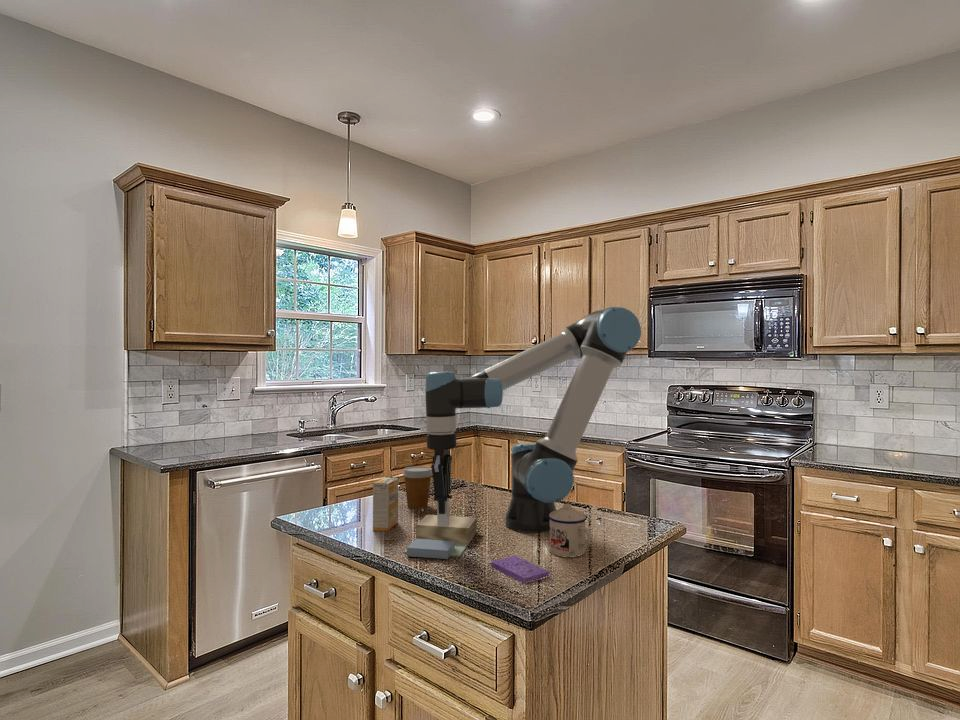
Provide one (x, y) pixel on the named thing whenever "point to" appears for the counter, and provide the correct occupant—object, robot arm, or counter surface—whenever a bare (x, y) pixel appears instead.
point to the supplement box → (385, 503)
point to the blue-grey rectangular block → (431, 548)
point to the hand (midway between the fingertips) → (443, 525)
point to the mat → (456, 549)
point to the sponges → (519, 569)
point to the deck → (447, 529)
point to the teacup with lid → (568, 532)
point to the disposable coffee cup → (417, 486)
